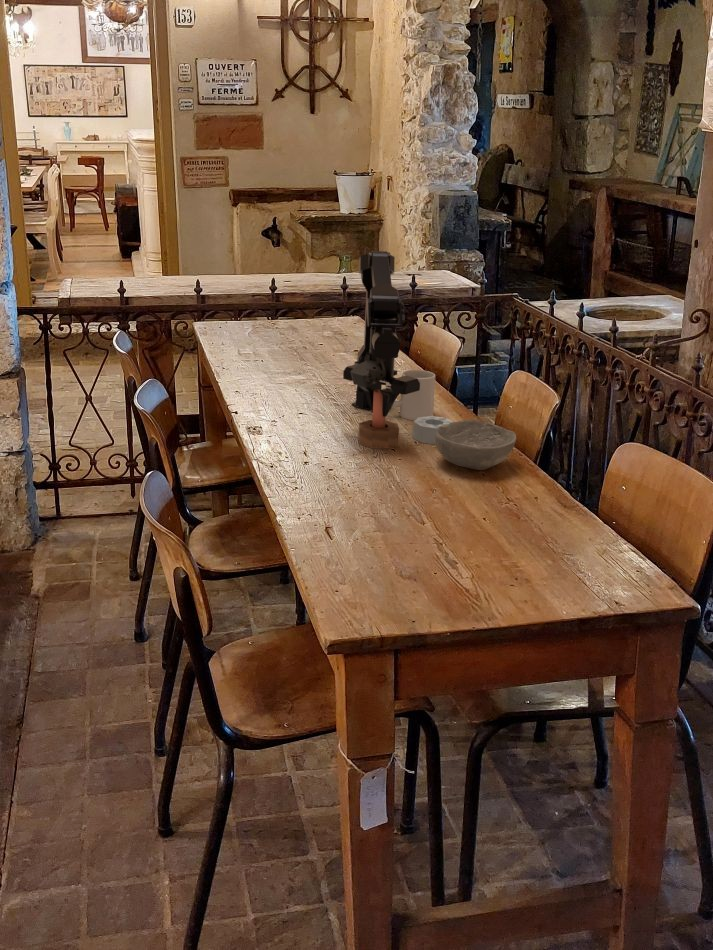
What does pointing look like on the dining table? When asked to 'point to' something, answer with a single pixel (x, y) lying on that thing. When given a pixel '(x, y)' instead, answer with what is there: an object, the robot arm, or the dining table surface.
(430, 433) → the slate bead
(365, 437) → the walnut bead
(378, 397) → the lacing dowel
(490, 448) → the bowl
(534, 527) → the dining table surface
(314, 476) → the dining table surface
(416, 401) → the mug
